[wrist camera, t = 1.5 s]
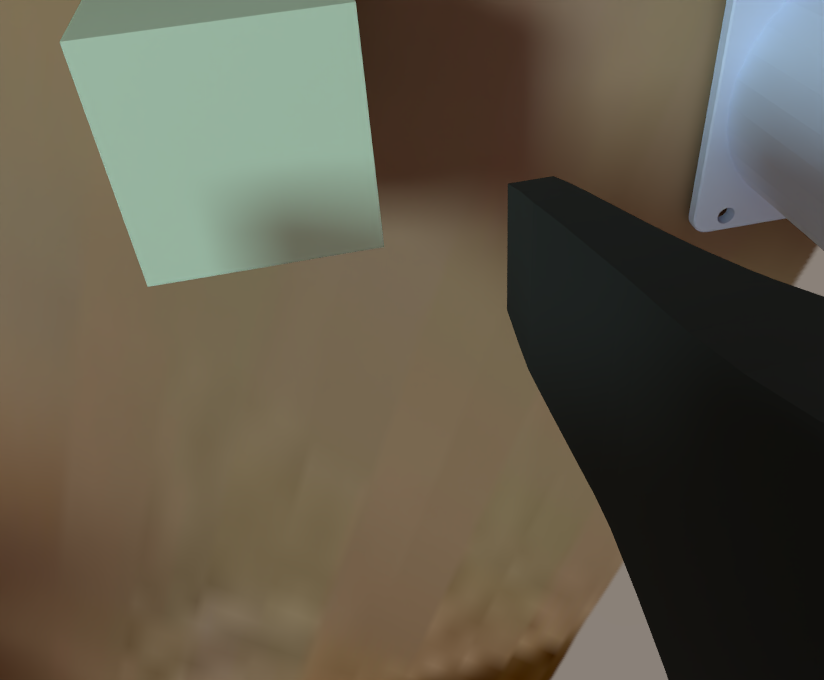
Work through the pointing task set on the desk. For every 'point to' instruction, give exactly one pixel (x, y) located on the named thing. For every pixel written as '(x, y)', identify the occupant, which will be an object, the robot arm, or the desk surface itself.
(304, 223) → the block
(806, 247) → the desk surface
